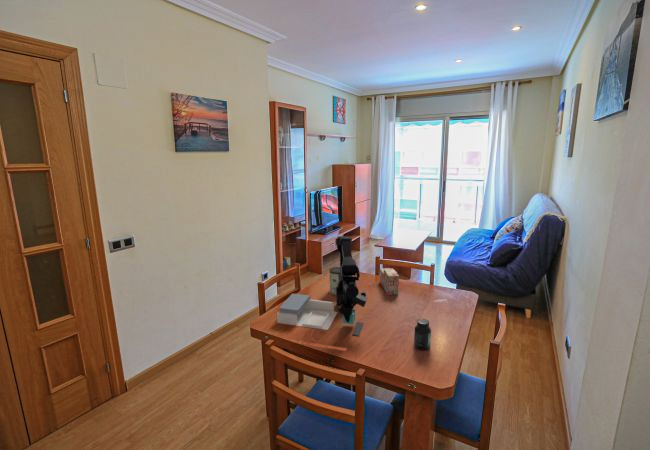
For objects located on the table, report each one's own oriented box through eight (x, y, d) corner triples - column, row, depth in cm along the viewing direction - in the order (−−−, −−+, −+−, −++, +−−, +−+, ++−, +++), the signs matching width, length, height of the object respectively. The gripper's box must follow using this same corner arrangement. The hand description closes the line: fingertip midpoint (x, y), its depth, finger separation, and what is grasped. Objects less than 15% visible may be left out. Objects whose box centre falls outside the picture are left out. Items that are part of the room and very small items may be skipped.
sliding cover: (309, 298, 180) (309, 295, 179) (298, 314, 163) (298, 310, 163) (292, 296, 182) (292, 293, 182) (279, 311, 166) (279, 307, 165)
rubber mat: (363, 323, 166) (363, 322, 166) (359, 336, 155) (359, 335, 155) (340, 320, 170) (340, 319, 170) (333, 332, 158) (333, 331, 158)
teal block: (355, 319, 163) (355, 309, 162) (353, 324, 159) (353, 314, 158) (345, 318, 165) (345, 308, 164) (342, 323, 160) (342, 313, 159)
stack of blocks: (379, 281, 220) (380, 263, 217) (389, 281, 220) (389, 263, 218) (387, 295, 199) (388, 275, 196) (398, 294, 199) (399, 275, 197)
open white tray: (337, 313, 177) (337, 302, 176) (327, 331, 159) (327, 319, 158) (291, 307, 184) (291, 297, 183) (277, 324, 166) (277, 312, 165)
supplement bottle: (433, 349, 144) (434, 324, 141) (418, 351, 142) (419, 326, 140) (425, 341, 150) (426, 316, 148) (411, 343, 149) (412, 318, 146)
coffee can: (345, 288, 210) (345, 266, 207) (346, 294, 200) (346, 272, 197) (329, 288, 210) (329, 266, 207) (329, 294, 200) (329, 272, 197)
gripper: (362, 299, 147) (362, 331, 151) (369, 283, 165) (368, 312, 168) (338, 296, 150) (338, 328, 154) (347, 281, 168) (347, 309, 171)
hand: (349, 319), depth 161 cm, fingers closed on teal block, 5 cm apart
